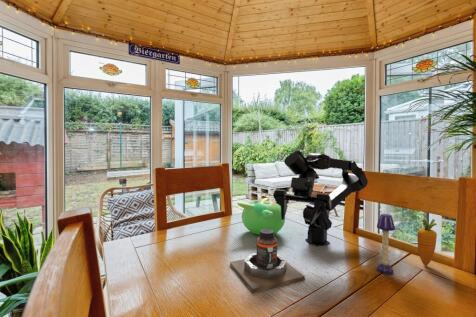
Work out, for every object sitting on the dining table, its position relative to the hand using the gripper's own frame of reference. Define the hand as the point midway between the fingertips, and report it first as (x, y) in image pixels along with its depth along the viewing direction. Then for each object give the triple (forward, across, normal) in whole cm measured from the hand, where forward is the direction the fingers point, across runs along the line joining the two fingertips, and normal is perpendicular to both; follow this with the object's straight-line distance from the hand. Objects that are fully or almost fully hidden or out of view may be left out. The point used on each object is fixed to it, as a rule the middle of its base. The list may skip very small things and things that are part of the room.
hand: (296, 221), depth 84 cm
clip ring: (+17, -5, 0) cm, 18 cm away
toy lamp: (+5, +25, +13) cm, 29 cm away
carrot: (-2, +36, +20) cm, 41 cm away
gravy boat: (-2, -19, +20) cm, 28 cm away
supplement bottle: (+17, -5, 0) cm, 17 cm away
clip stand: (+17, -5, 0) cm, 18 cm away
